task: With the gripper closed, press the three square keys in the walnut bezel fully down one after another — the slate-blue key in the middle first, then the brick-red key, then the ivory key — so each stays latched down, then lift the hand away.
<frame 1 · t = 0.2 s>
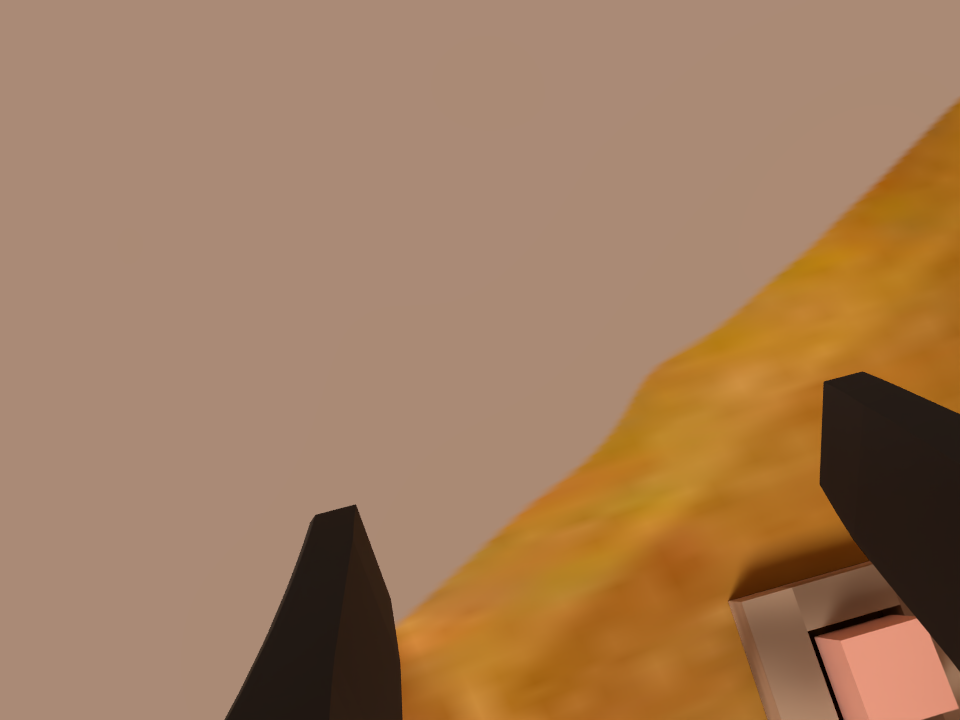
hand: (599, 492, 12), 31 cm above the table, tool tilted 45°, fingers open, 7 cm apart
brick key: (883, 671, 38), point 3 cm above the table, slide at 0.0 cm
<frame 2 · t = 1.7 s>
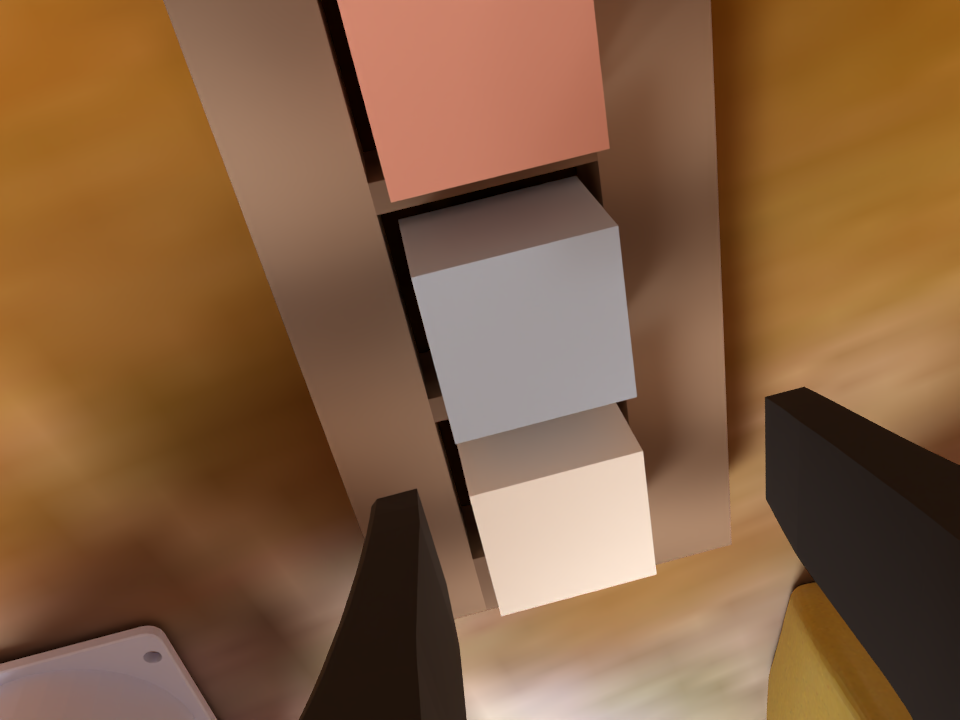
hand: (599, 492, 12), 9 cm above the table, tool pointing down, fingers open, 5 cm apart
slate key: (516, 307, 18), point 3 cm above the table, slide at 0.0 cm
brick key: (465, 43, 15), point 3 cm above the table, slide at 0.0 cm
flower pot: (837, 616, 30), on the table
walnut bezel: (490, 249, 20), on the table
ivory key: (553, 496, 20), point 3 cm above the table, slide at 0.0 cm
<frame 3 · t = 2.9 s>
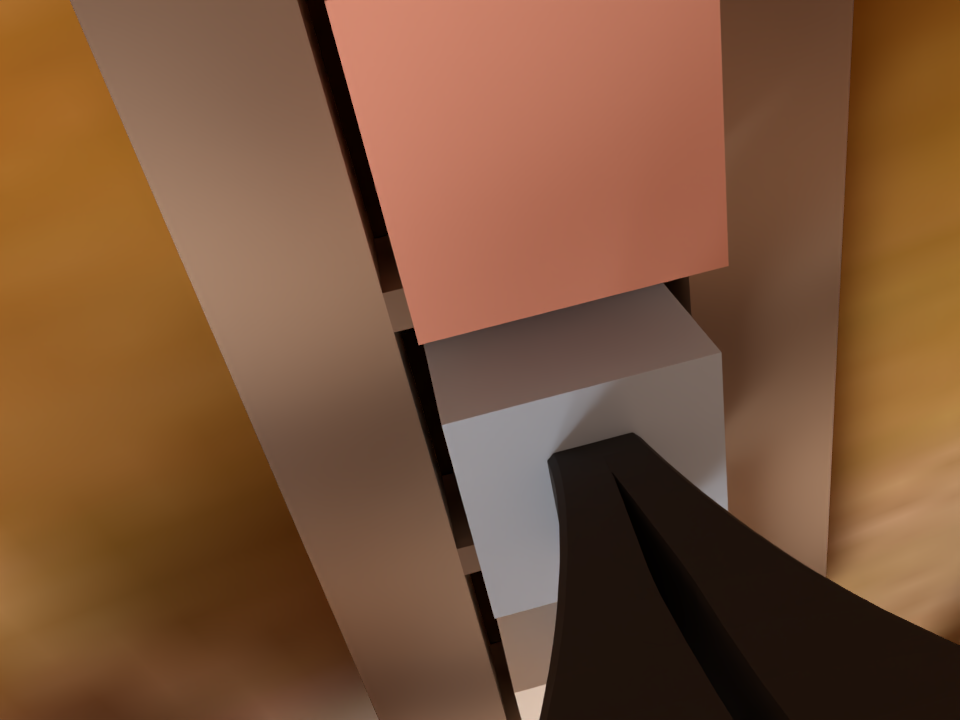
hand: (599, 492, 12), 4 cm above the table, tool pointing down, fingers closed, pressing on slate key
slate key: (572, 437, 14), point 3 cm above the table, slide at 0.3 cm, touching gripper
brick key: (523, 116, 10), point 3 cm above the table, slide at 0.0 cm
walnut bezel: (534, 352, 16), on the table
ivory key: (613, 663, 16), point 3 cm above the table, slide at 0.0 cm
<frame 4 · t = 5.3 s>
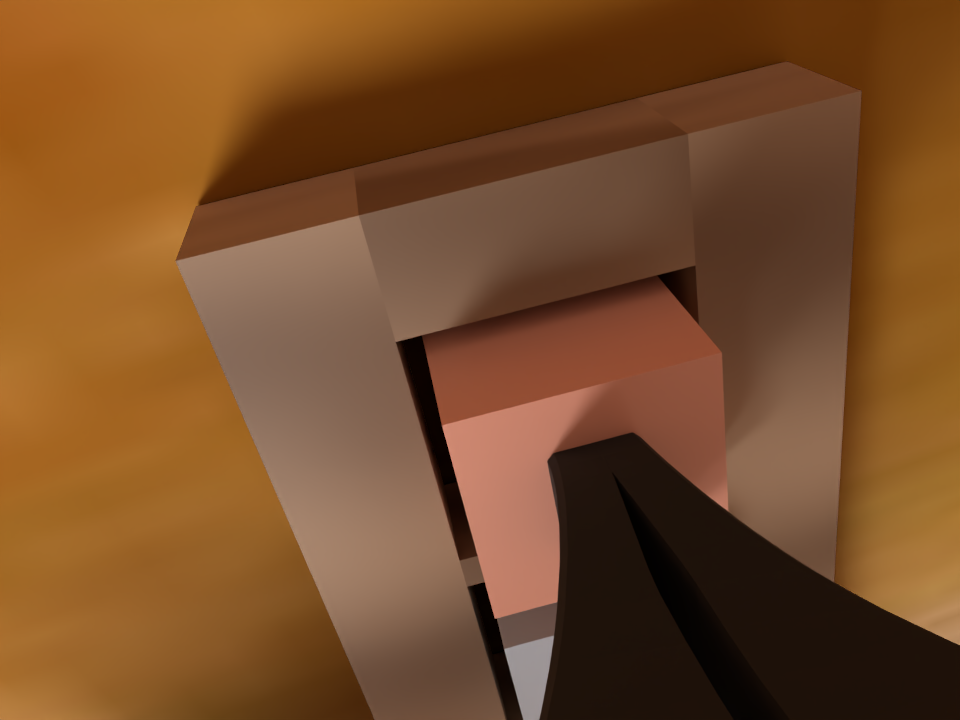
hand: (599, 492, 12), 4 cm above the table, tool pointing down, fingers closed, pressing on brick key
slate key: (600, 627, 17), point 2 cm above the table, slide at 1.2 cm
brick key: (573, 438, 14), point 3 cm above the table, slide at 0.6 cm, touching gripper
walnut bezel: (575, 559, 19), on the table
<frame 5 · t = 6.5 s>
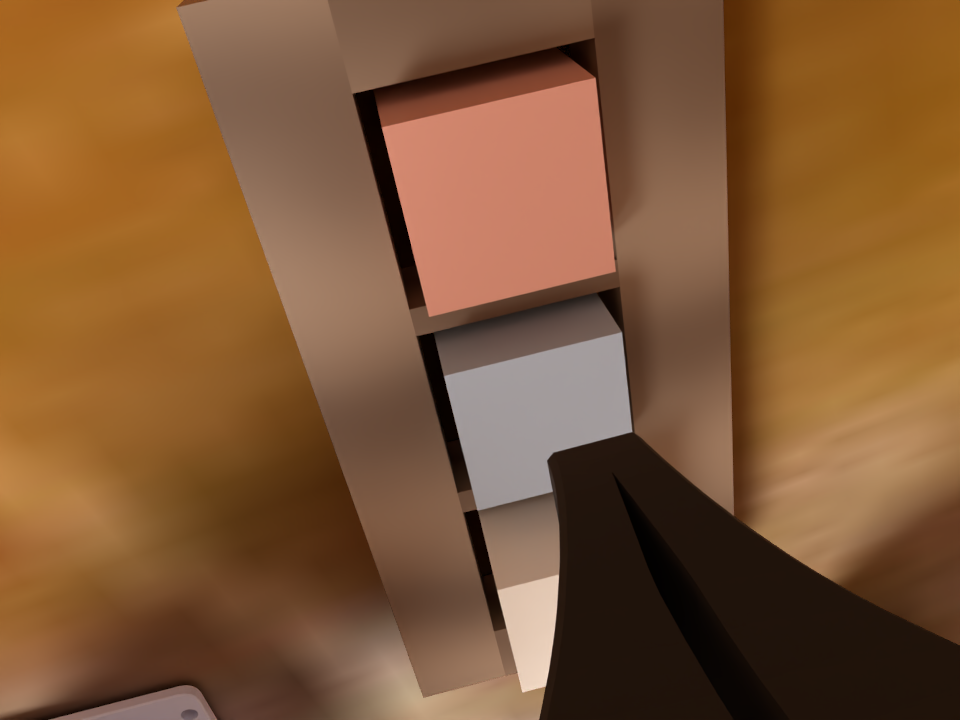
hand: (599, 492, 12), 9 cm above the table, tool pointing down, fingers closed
slate key: (531, 390, 20), point 2 cm above the table, slide at 1.2 cm
brick key: (493, 179, 17), point 2 cm above the table, slide at 1.2 cm
walnut bezel: (516, 350, 22), on the table
ivory key: (571, 580, 22), point 3 cm above the table, slide at 0.0 cm
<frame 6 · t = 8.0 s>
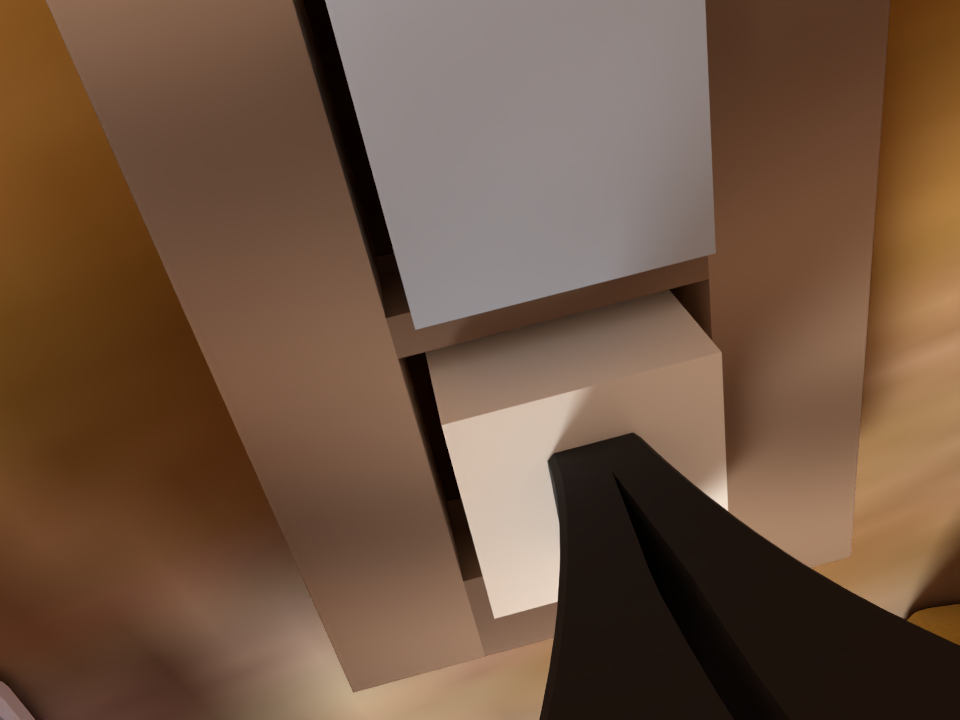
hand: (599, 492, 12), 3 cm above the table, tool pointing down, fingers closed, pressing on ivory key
slate key: (516, 108, 11), point 2 cm above the table, slide at 1.2 cm
flower pot: (959, 649, 23), on the table
walnut bezel: (490, 76, 12), on the table
ivory key: (572, 437, 14), point 2 cm above the table, slide at 1.2 cm, touching gripper
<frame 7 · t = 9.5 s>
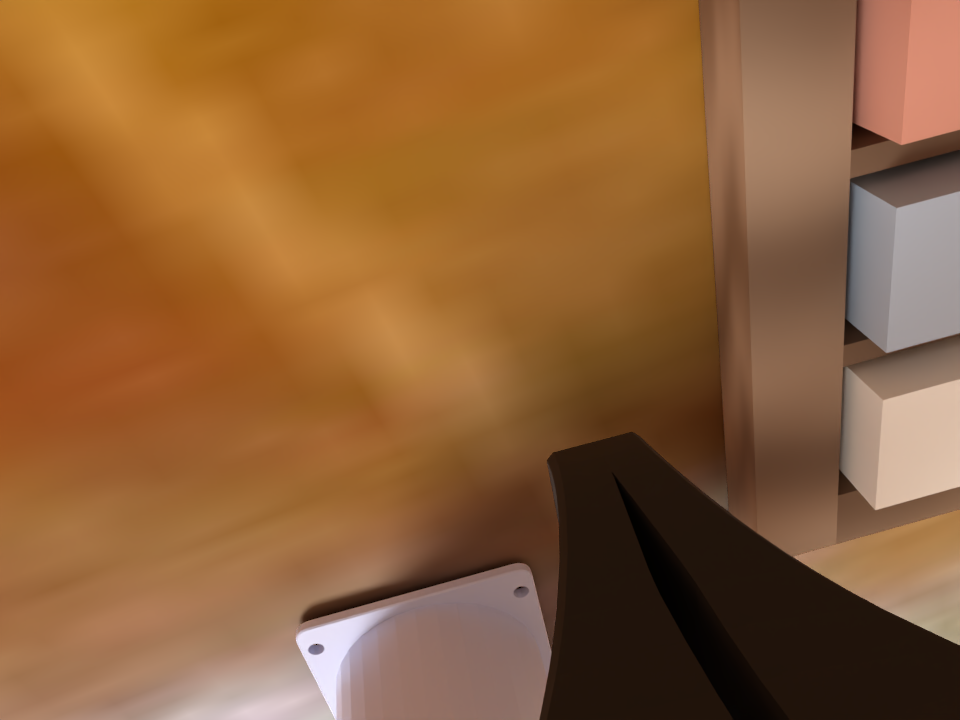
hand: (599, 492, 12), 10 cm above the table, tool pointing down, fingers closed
slate key: (930, 239, 21), point 2 cm above the table, slide at 1.2 cm
brick key: (952, 17, 18), point 2 cm above the table, slide at 1.2 cm
walnut bezel: (885, 213, 23), on the table
ivory key: (913, 408, 24), point 2 cm above the table, slide at 1.2 cm
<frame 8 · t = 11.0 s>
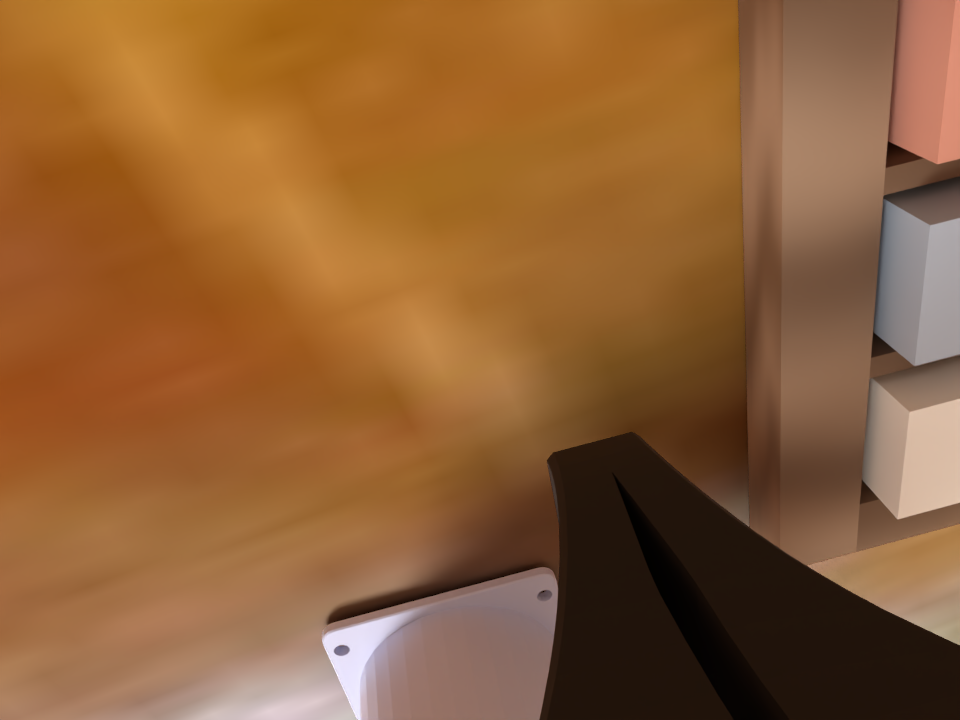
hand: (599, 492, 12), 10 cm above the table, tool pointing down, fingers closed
slate key: (958, 255, 22), point 2 cm above the table, slide at 1.2 cm
walnut bezel: (912, 228, 23), on the table
ivory key: (936, 420, 24), point 2 cm above the table, slide at 1.2 cm
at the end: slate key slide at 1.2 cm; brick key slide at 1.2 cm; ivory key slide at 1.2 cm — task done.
